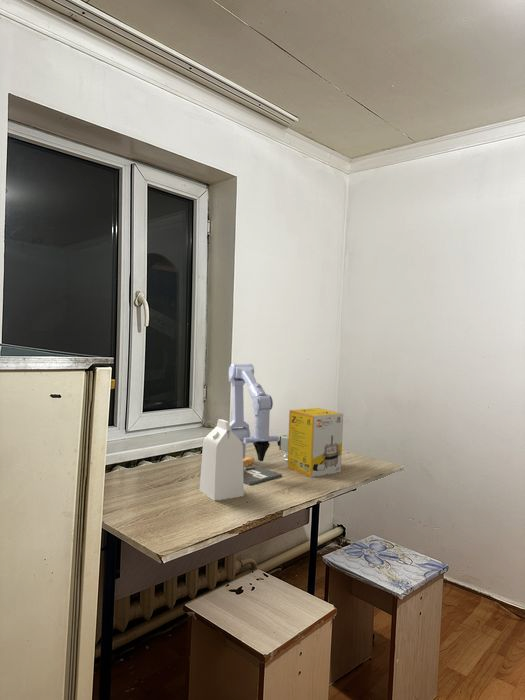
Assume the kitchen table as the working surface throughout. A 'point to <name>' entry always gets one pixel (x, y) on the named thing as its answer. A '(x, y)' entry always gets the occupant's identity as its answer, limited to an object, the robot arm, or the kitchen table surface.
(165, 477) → the kitchen table surface
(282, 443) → the pneumatic valve
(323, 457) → the packaging box
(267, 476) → the label
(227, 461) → the milk
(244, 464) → the bar
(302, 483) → the kitchen table surface
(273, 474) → the panel
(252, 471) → the label
